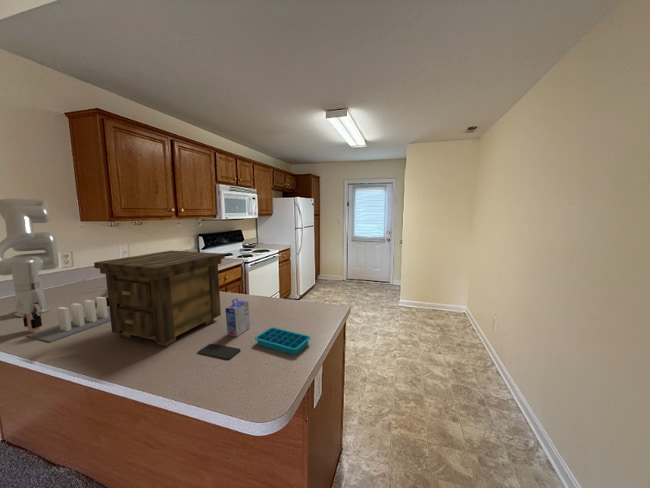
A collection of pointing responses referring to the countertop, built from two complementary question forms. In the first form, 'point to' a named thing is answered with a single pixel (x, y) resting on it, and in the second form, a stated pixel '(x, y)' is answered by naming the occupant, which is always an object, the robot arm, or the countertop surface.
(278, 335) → the ice cube tray
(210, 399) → the countertop surface
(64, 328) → the ivory tile
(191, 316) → the wooden nightstand
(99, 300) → the ivory tile
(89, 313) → the ivory tile
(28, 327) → the terracotta tile
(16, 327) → the countertop surface
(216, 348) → the phone
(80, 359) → the countertop surface
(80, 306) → the ivory tile
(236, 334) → the ink cartridge box
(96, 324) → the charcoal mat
